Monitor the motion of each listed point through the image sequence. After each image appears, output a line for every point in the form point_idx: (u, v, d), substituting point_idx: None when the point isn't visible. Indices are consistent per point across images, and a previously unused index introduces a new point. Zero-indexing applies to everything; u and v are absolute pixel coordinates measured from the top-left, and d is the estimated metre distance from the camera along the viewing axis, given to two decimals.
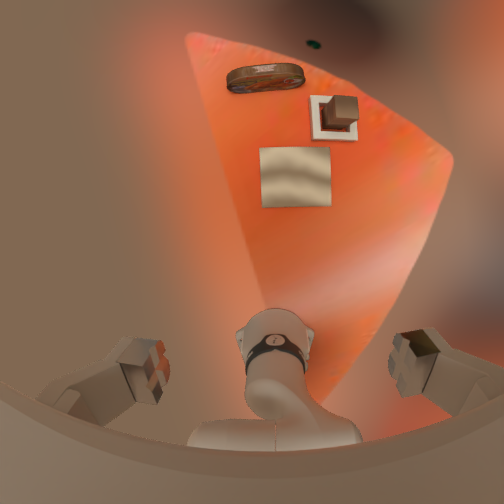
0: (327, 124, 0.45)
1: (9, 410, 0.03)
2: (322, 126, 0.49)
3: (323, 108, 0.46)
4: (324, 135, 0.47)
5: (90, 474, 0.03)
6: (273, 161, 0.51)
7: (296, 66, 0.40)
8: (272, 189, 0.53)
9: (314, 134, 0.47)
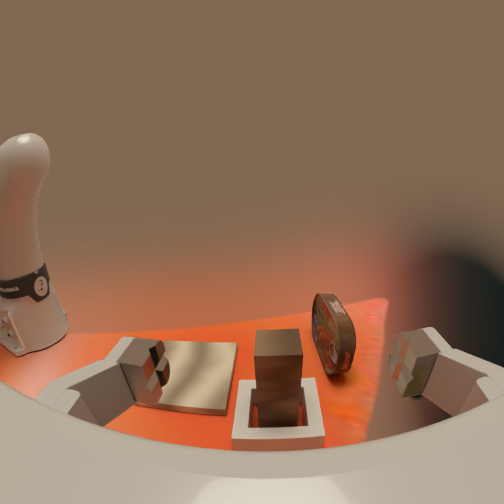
0: None
1: (9, 410, 0.03)
2: None
3: None
4: (244, 392, 0.28)
5: (90, 474, 0.03)
6: (216, 352, 0.38)
7: (351, 333, 0.31)
8: (182, 348, 0.39)
9: (246, 381, 0.30)
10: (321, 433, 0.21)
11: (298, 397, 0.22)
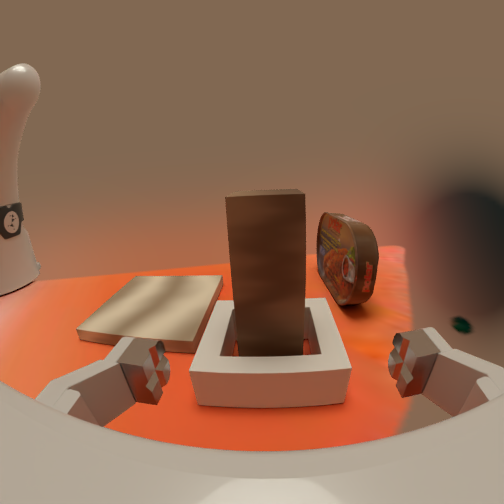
0: None
1: (9, 410, 0.03)
2: None
3: None
4: (221, 312, 0.20)
5: (90, 474, 0.03)
6: (194, 284, 0.31)
7: (371, 238, 0.23)
8: (153, 282, 0.32)
9: (226, 301, 0.22)
10: (345, 365, 0.13)
11: (302, 293, 0.15)
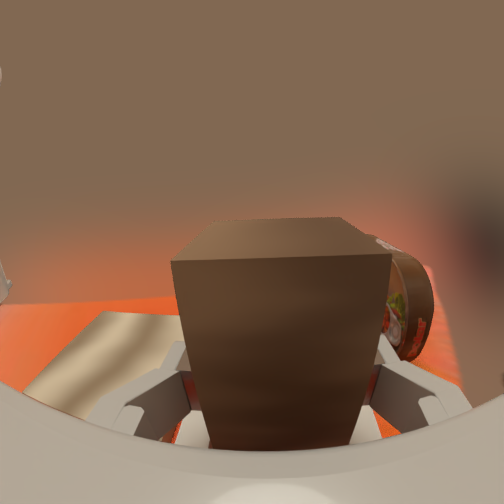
0: None
1: (9, 410, 0.03)
2: None
3: None
4: None
5: (90, 474, 0.03)
6: (172, 330, 0.22)
7: (424, 281, 0.14)
8: (121, 323, 0.23)
9: None
10: None
11: (347, 436, 0.06)
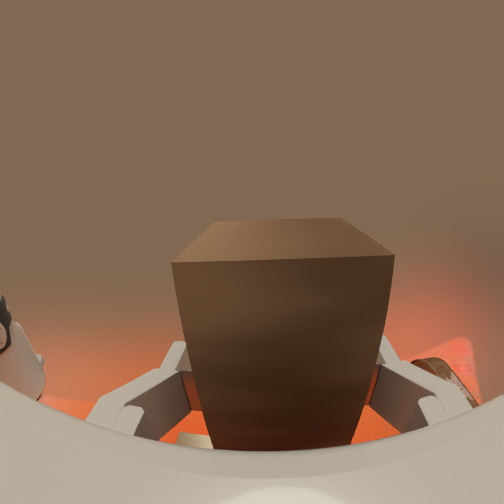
0: None
1: (9, 410, 0.03)
2: None
3: None
4: None
5: (90, 474, 0.03)
6: None
7: None
8: None
9: None
10: None
11: (348, 438, 0.06)
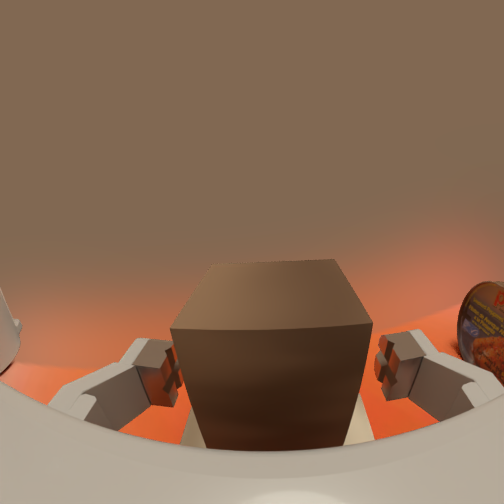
0: None
1: (9, 410, 0.03)
2: None
3: None
4: None
5: (90, 474, 0.03)
6: None
7: None
8: None
9: None
10: None
11: None
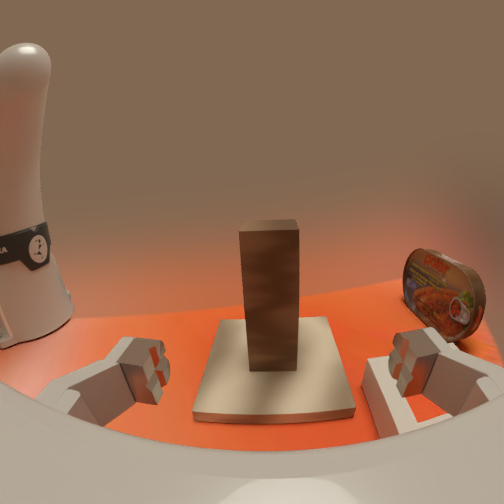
0: None
1: (9, 410, 0.03)
2: None
3: None
4: (383, 374, 0.17)
5: (90, 474, 0.03)
6: (303, 330, 0.27)
7: (480, 283, 0.19)
8: None
9: (377, 359, 0.19)
10: None
11: (297, 302, 0.19)
